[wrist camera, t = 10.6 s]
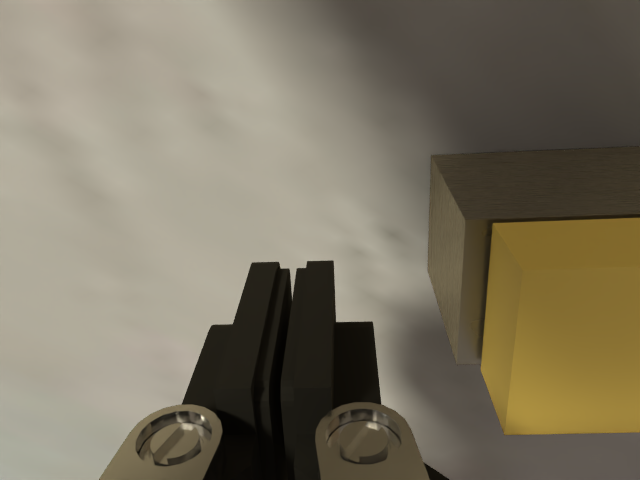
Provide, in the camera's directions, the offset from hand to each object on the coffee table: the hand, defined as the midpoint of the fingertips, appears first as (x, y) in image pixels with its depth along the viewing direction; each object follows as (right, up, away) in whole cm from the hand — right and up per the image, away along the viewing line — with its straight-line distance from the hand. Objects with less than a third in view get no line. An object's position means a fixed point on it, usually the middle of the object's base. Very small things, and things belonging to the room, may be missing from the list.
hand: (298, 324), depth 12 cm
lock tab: (+6, +1, 0) cm, 6 cm away
